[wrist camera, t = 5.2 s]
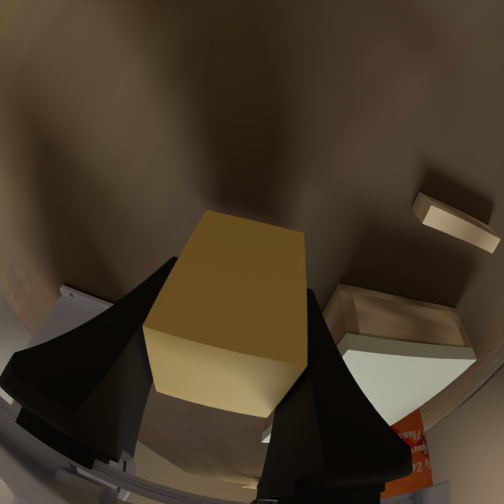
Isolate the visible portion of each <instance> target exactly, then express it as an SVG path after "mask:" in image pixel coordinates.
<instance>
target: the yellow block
mask: <svg viewBox="0 0 504 504" xmlns="http://www.w3.org/2000/svg"><path fill="white" fill-rule="evenodd" d="M143 331H144V337H145V342H146V347H147V352H148V357H149V362H150V366H151V371H152V375H153V379H154V383H155V387H156V391H157V392H160V393H164V394H167V395H170V396H173V397H177V398H180V399H183V400H187V401H191V402H194V403H198V404H202V405H206V406H210V407H214V408H219V409H223V410H228V411H233V412H238V413H243V414H248V415H254V416H260V417H266V418H267V417H268V416H269V415H270V413H271V412H272V411H273V410H274V409H275V407H276V406H277V405H278V404H279V402H280V401H281V400H282V399H283V397H284V396H285V395H286V393H287V392H288V391H289V390H290V388H291V387H292V386H293V384H294V383H295V382H296V380H297V379H298V378H299V376H300V375H301V374H302V372H303V371H304V369H305V368H306V367H307V288H306V262H305V242H304V233H302V232H298V231H294V230H290V229H286V228H282V227H278V226H274V225H270V224H265V223H261V222H257V221H253V220H249V219H245V218H240V217H236V216H232V215H227V214H223V213H219V212H214V211H210V210H206V211H205V213H204V215H203V216H202V218H201V220H200V221H199V223H198V225H197V227H196V228H195V230H194V232H193V233H192V235H191V237H190V239H189V240H188V242H187V244H186V246H185V247H184V249H183V251H182V253H181V254H180V256H179V258H178V260H177V262H176V263H175V265H174V267H173V269H172V271H171V272H170V274H169V276H168V278H167V280H166V282H165V284H164V285H163V287H162V289H161V291H160V293H159V295H158V297H157V299H156V301H155V303H154V304H153V306H152V308H151V310H150V312H149V314H148V316H147V318H146V320H145V322H144V324H143Z"/></svg>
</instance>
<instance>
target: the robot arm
mask: <svg viewBox="0 0 504 504" xmlns="http://www.w3.org/2000/svg"><path fill="white" fill-rule="evenodd" d="M177 260H178V257H172V258H170V259H169V260H168V261H167V262H166V263H165V264H164V265H162V266H161V267H160V268H159V269H158V270H157V271H156V272H154V273H153V274H152V275H151V276H150V277H149V278H147V279H146V280H145V281H144V282H142V283H141V284H140V285H139V286H137V287H136V288H135V289H134V290H132V291H131V292H130V293H129V294H127V295H126V296H124V297H123V298H122V299H120V300H119V301H118V302H116V303H115V304H112V303H109V302H106V301H104V300H101V299H98V298H95V297H93V296H90V295H87V294H85V293H82V292H80V291H77V290H75V289H72V288H70V287H67V286H65V285H62V286H61V287H60V292H61V297H60V298H59V299H58V301H57V302H56V303H55V305H54V306H53V308H52V309H51V310H50V312H49V313H48V315H47V316H46V317H45V319H44V320H43V322H42V323H41V325H40V326H39V328H38V329H37V330H36V332H35V333H34V335H33V337H32V338H31V340H30V341H29V344H28V346H27V348H26V349H25V350H21V351H19V352H15V353H14V354H13V355H12V357H11V359H10V360H9V362H8V364H7V365H6V367H5V369H4V371H3V372H2V374H1V376H0V387H1V388H2V389H3V390H4V391H5V392H6V393H7V394H8V395H10V396H11V397H12V398H13V399H14V400H13V403H12V404H11V405H10V404H9V403H8V402H6V401H5V400H4V399H3V398H2V397H0V478H1V479H2V480H3V481H4V482H5V484H6V485H7V486H8V488H9V489H10V490H11V492H12V493H13V494H14V496H15V497H14V500H13V503H12V504H132V503H129V502H127V501H125V500H126V498H127V497H128V496H129V494H130V492H132V493H135V494H138V495H141V496H143V497H147V498H149V499H152V500H155V501H159V502H162V503H165V504H251V503H243V502H235V501H228V500H222V499H217V498H211V497H206V496H201V495H197V494H192V493H188V492H184V491H181V490H177V489H173V488H170V487H166V486H163V485H160V484H156V483H153V482H150V481H147V480H145V479H142V478H139V477H136V476H135V462H134V459H133V457H134V452H135V447H136V442H137V437H138V433H139V429H140V425H141V421H142V417H143V413H144V409H145V405H146V402H147V398H148V395H149V392H150V388H151V385H152V382H153V375H152V371H151V366H150V362H149V357H148V352H147V347H146V342H145V337H144V331H143V324H144V322H145V320H146V318H147V316H148V314H149V312H150V310H151V308H152V306H153V304H154V303H155V301H156V299H157V297H158V295H159V293H160V291H161V289H162V287H163V285H164V284H165V282H166V280H167V278H168V276H169V274H170V272H171V271H172V269H173V267H174V265H175V263H176V262H177ZM412 472H413V461H412V451H411V447H410V446H409V445H408V444H407V443H406V442H405V441H404V440H403V439H402V438H401V437H400V436H399V435H398V434H397V433H396V432H395V431H394V430H393V429H392V428H391V427H390V426H389V425H388V423H387V422H386V421H385V420H384V419H383V418H382V416H381V415H380V414H379V413H378V411H377V410H376V409H375V407H374V406H373V405H372V403H371V402H370V401H369V399H368V398H367V397H366V395H365V394H364V393H363V391H362V390H361V388H360V387H359V385H358V384H357V382H356V380H355V379H354V377H353V375H352V374H351V372H350V370H349V369H348V367H347V365H346V363H345V361H344V360H343V358H342V356H341V354H340V352H339V350H338V348H337V346H336V344H335V342H334V340H333V337H332V335H331V333H330V331H329V329H328V326H327V324H326V322H325V319H324V317H323V315H322V312H321V310H320V307H319V305H318V302H317V300H316V297H315V294H314V292H313V290H312V289H308V288H307V367H306V368H305V369H304V371H303V372H302V374H301V375H300V376H299V378H298V379H297V380H296V382H295V383H294V384H293V386H292V387H291V388H290V390H289V391H288V392H287V393H286V395H285V396H284V397H283V399H282V400H281V401H280V402H279V404H278V405H277V406H276V407H275V412H274V418H273V424H272V430H271V435H270V441H269V446H268V450H267V455H266V459H265V464H264V468H263V472H262V476H261V480H260V483H259V487H258V490H257V497H256V500H265V501H277V504H450V482H449V481H448V480H447V481H444V482H442V483H438V484H435V485H432V486H429V487H426V488H422V489H419V490H415V491H412V492H408V493H404V494H400V495H396V496H391V497H388V498H383V499H381V492H384V491H385V483H387V482H391V481H394V480H397V479H400V478H403V477H406V476H409V475H410V474H411V473H412Z"/></svg>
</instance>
